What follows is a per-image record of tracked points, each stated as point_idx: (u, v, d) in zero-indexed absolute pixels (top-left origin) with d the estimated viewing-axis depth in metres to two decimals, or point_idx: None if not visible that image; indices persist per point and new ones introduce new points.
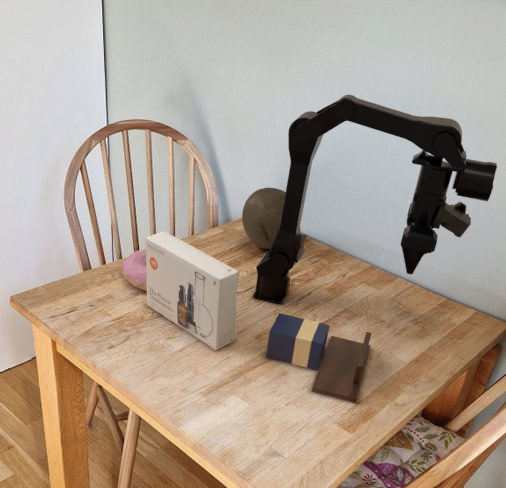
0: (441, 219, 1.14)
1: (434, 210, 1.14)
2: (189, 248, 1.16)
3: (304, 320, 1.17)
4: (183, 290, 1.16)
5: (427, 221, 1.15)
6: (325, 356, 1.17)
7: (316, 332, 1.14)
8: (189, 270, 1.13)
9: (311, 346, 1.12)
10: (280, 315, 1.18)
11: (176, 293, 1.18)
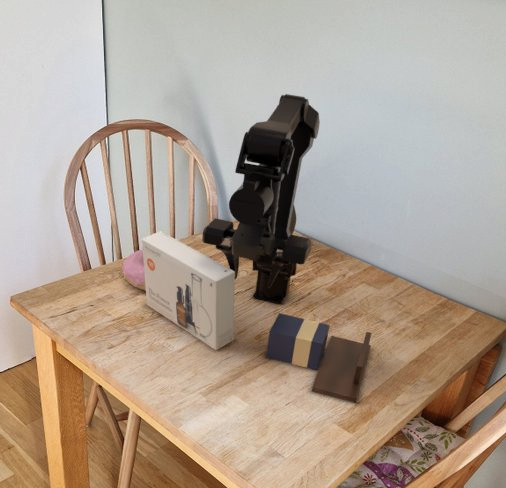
0: None
1: None
2: (185, 248, 1.16)
3: (304, 320, 1.17)
4: (181, 291, 1.16)
5: None
6: (325, 356, 1.17)
7: (316, 332, 1.14)
8: (186, 271, 1.12)
9: (311, 346, 1.12)
10: (280, 315, 1.18)
11: (174, 294, 1.18)
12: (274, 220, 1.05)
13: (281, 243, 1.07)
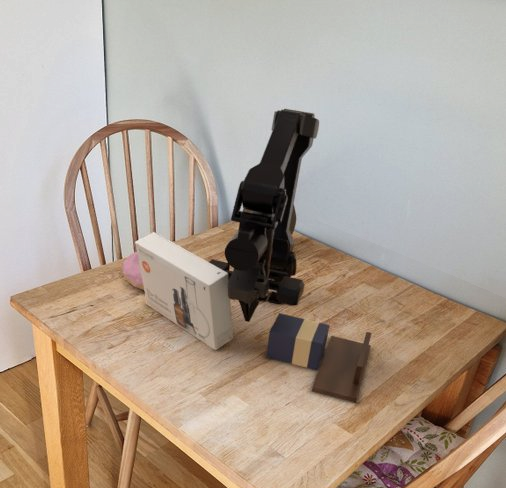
0: None
1: None
2: (178, 250, 1.15)
3: (304, 320, 1.17)
4: (177, 294, 1.15)
5: None
6: (325, 356, 1.17)
7: (316, 332, 1.14)
8: (179, 274, 1.11)
9: (311, 346, 1.12)
10: (280, 315, 1.18)
11: (171, 296, 1.18)
12: (268, 263, 1.10)
13: (275, 285, 1.11)
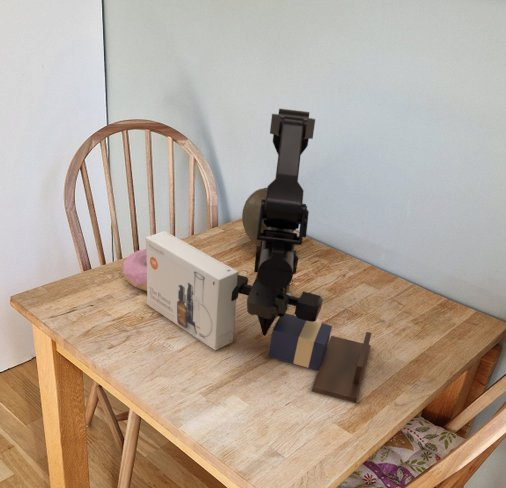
0: (252, 286, 1.10)
1: None
2: (189, 248, 1.16)
3: None
4: (183, 290, 1.16)
5: None
6: (325, 356, 1.17)
7: (319, 333, 1.14)
8: (189, 270, 1.13)
9: (313, 346, 1.12)
10: None
11: (176, 293, 1.18)
12: None
13: (294, 300, 1.12)
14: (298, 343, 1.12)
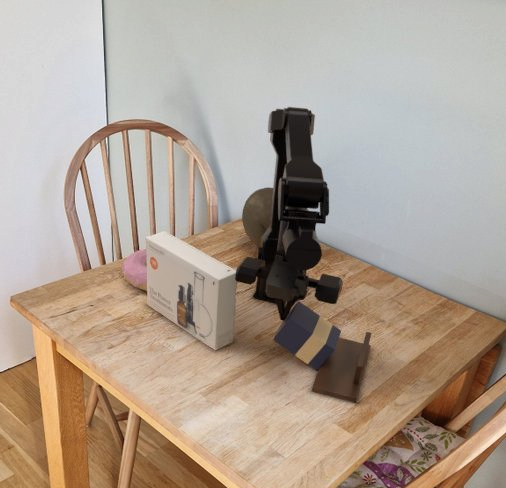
0: (271, 269, 1.07)
1: None
2: (189, 248, 1.16)
3: (320, 317, 1.16)
4: (183, 290, 1.16)
5: None
6: None
7: (330, 335, 1.14)
8: (189, 270, 1.13)
9: (322, 348, 1.11)
10: (299, 303, 1.16)
11: (176, 293, 1.18)
12: None
13: (313, 282, 1.09)
14: (309, 339, 1.11)
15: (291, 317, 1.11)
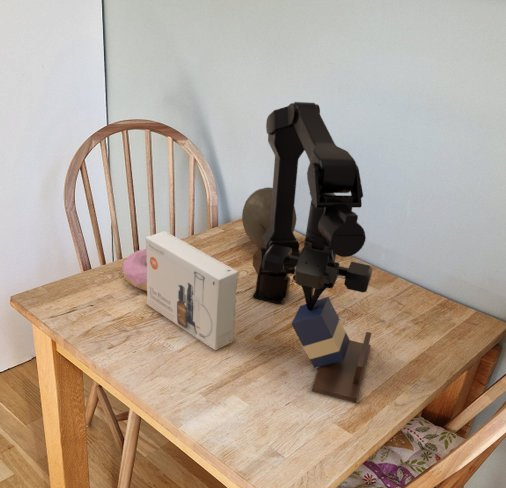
0: (299, 256, 1.04)
1: None
2: (189, 248, 1.16)
3: (339, 320, 1.15)
4: (183, 290, 1.16)
5: None
6: None
7: (342, 342, 1.14)
8: (189, 270, 1.13)
9: (334, 353, 1.11)
10: (328, 300, 1.13)
11: (176, 293, 1.18)
12: None
13: (342, 270, 1.06)
14: (326, 340, 1.10)
15: (322, 313, 1.09)
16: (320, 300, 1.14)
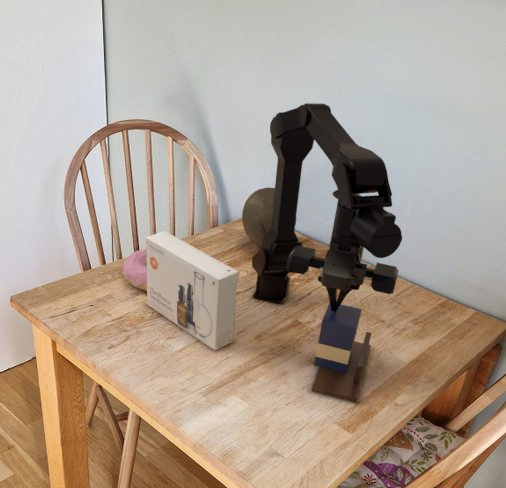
0: (325, 257, 1.03)
1: None
2: (189, 248, 1.16)
3: None
4: (183, 290, 1.16)
5: None
6: None
7: (350, 355, 1.14)
8: (189, 270, 1.13)
9: (341, 363, 1.12)
10: (360, 313, 1.13)
11: (176, 293, 1.18)
12: None
13: (368, 272, 1.05)
14: (343, 350, 1.10)
15: (356, 327, 1.08)
16: (353, 309, 1.13)
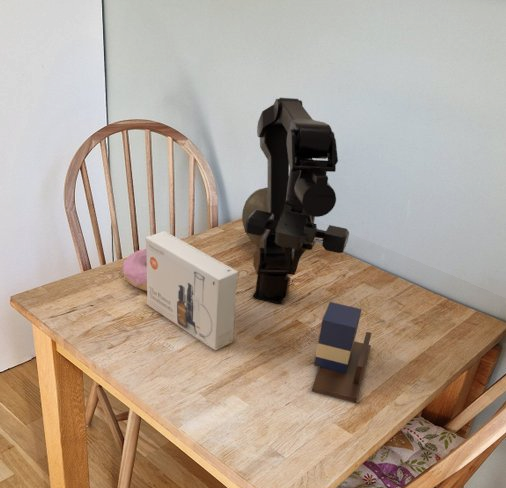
0: None
1: None
2: (189, 248, 1.16)
3: None
4: (183, 290, 1.16)
5: None
6: None
7: (350, 355, 1.14)
8: (189, 270, 1.13)
9: (341, 363, 1.12)
10: (360, 313, 1.13)
11: (176, 293, 1.18)
12: None
13: (321, 233, 1.13)
14: (343, 350, 1.10)
15: (356, 327, 1.08)
16: (353, 309, 1.13)
